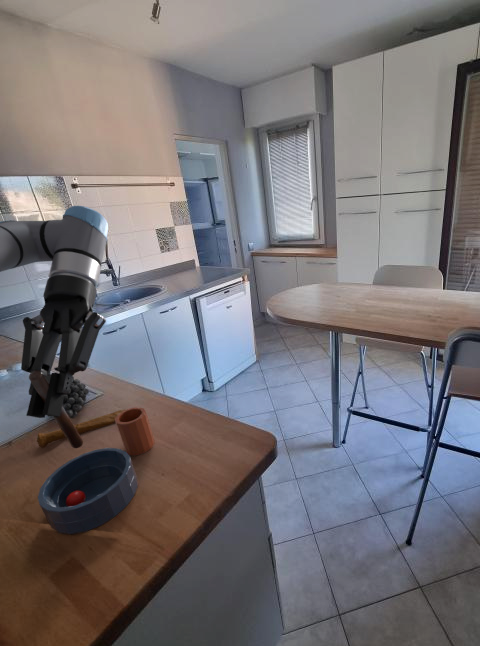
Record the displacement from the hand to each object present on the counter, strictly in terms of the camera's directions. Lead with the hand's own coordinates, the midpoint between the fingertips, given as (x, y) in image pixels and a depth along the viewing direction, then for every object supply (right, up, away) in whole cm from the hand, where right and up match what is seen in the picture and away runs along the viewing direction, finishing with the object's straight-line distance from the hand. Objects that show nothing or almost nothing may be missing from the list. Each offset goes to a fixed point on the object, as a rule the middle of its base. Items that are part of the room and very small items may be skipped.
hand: (43, 415), depth 52 cm
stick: (+1, -7, +7) cm, 10 cm away
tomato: (-1, -18, +9) cm, 20 cm away
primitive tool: (-13, -11, +32) cm, 36 cm away
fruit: (-23, -8, +40) cm, 47 cm away
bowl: (+1, -19, +11) cm, 22 cm away
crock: (+4, -13, +24) cm, 28 cm away
